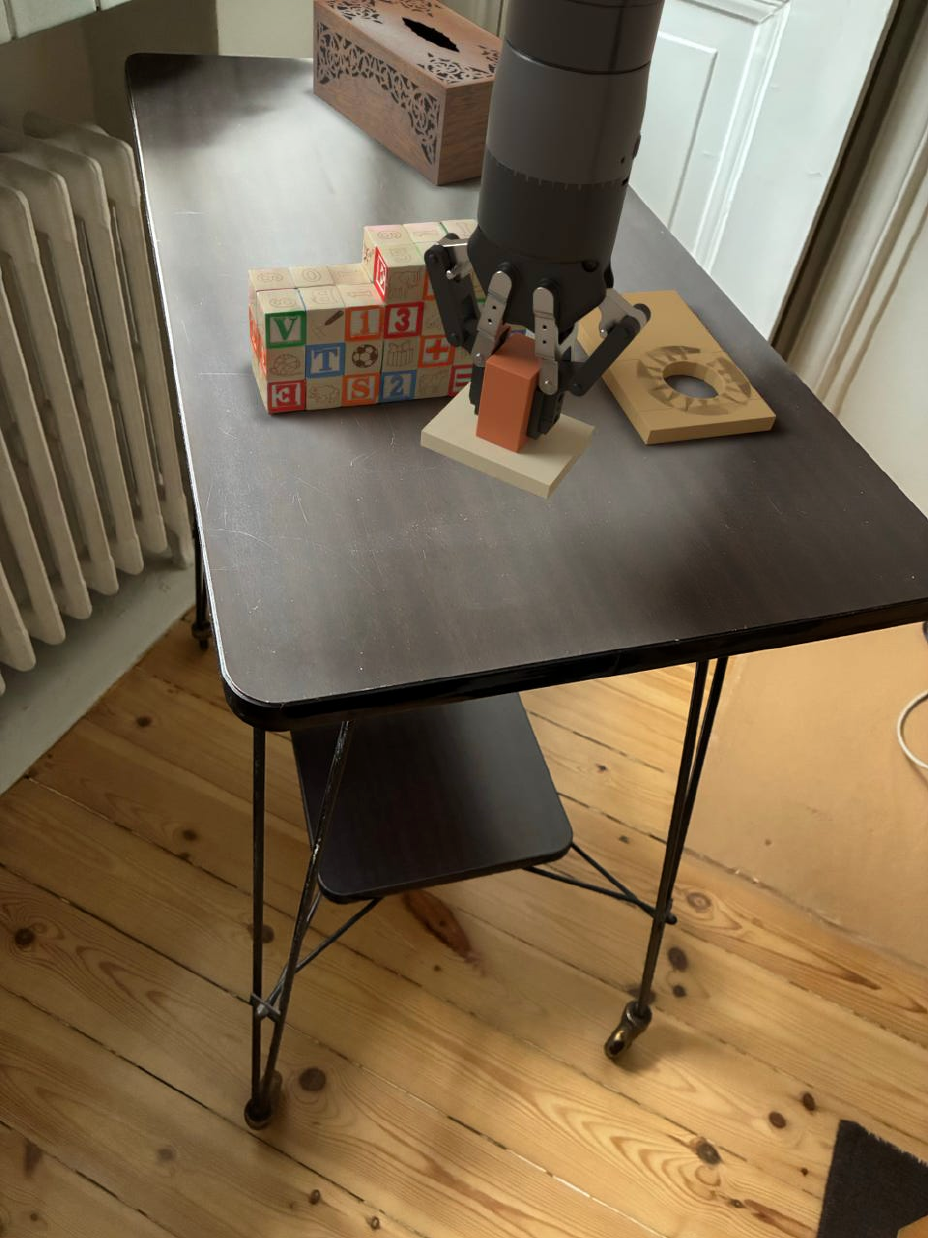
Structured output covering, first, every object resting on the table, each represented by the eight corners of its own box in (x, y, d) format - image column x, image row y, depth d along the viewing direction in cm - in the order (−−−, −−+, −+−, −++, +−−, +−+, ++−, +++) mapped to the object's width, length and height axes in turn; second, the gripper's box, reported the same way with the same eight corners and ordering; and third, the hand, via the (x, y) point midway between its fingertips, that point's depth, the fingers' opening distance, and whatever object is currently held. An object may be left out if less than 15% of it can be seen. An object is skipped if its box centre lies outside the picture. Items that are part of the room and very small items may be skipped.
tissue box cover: (313, 92, 119) (313, -1, 112) (410, 76, 126) (417, -12, 119) (436, 185, 107) (446, 88, 100) (537, 162, 114) (553, 69, 106)
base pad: (771, 430, 85) (778, 415, 84) (645, 444, 81) (650, 430, 80) (672, 302, 97) (676, 289, 96) (558, 311, 93) (561, 297, 92)
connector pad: (587, 457, 66) (614, 354, 60) (543, 516, 61) (567, 411, 55) (469, 408, 68) (483, 303, 62) (418, 461, 63) (428, 354, 58)
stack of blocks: (266, 417, 78) (260, 274, 69) (251, 371, 82) (243, 229, 72) (516, 390, 84) (542, 256, 75) (492, 348, 88) (513, 215, 79)
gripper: (402, 125, 49) (385, 410, 62) (664, 215, 45) (588, 497, 58) (473, 81, 53) (443, 355, 66) (715, 160, 50) (635, 432, 63)
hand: (511, 420), depth 62 cm, fingers closed on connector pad, 3 cm apart
